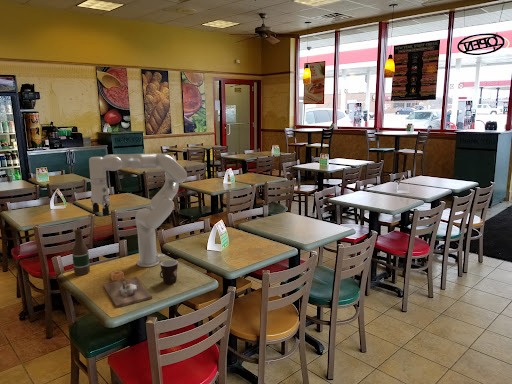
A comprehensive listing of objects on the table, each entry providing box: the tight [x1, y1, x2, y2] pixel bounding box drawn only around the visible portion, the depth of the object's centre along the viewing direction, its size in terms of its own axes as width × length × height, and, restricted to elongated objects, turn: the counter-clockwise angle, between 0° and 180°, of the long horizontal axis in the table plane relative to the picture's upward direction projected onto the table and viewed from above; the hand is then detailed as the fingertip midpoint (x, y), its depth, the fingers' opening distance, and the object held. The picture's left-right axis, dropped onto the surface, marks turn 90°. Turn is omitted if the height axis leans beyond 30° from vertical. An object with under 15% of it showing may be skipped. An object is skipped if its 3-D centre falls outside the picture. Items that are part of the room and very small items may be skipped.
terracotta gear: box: [110, 270, 125, 282], centre depth 203 cm, size 6×6×3 cm
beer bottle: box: [72, 228, 91, 276], centre depth 208 cm, size 8×8×24 cm
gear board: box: [103, 276, 153, 308], centre depth 187 cm, size 16×26×6 cm, turn 32°
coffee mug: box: [159, 259, 179, 285], centre depth 197 cm, size 12×9×10 cm
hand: (101, 213), depth 203 cm, fingers open, 9 cm apart
